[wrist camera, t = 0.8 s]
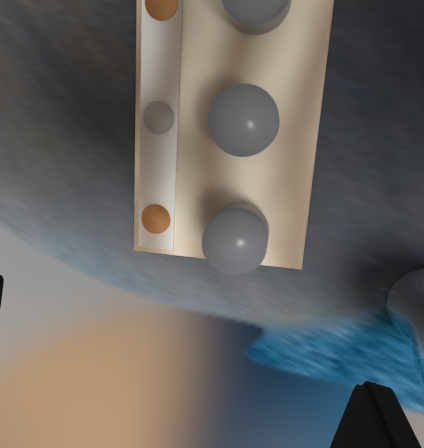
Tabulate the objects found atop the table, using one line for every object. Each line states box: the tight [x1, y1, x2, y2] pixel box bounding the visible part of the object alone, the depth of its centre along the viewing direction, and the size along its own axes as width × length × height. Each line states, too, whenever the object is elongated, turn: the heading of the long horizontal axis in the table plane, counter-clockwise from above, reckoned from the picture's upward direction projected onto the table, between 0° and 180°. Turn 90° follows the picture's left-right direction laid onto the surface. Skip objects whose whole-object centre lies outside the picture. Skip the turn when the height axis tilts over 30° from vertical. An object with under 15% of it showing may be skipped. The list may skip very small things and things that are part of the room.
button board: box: [134, 0, 334, 269], centre depth 30 cm, size 14×22×2 cm, turn 176°
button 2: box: [202, 202, 269, 276], centre depth 28 cm, size 4×4×4 cm
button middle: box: [208, 83, 280, 157], centre depth 26 cm, size 4×4×4 cm
